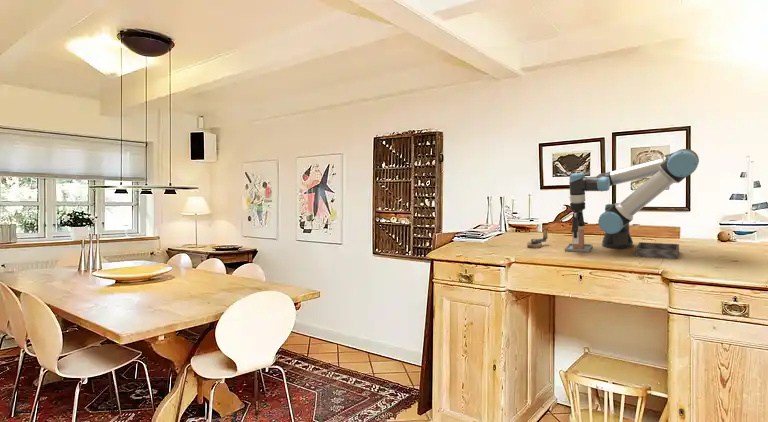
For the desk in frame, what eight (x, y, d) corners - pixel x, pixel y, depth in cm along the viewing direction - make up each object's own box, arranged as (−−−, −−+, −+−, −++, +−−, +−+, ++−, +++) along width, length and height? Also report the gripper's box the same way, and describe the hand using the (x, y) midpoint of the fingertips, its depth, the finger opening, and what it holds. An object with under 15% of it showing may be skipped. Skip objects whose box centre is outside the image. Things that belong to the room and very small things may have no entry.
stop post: (584, 247, 262) (584, 229, 261) (582, 249, 258) (582, 231, 256) (574, 246, 265) (574, 229, 263) (572, 249, 261) (572, 231, 259)
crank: (533, 243, 273) (532, 230, 271) (529, 242, 276) (529, 229, 275) (549, 241, 275) (549, 228, 273) (546, 240, 278) (545, 227, 277)
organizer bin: (679, 252, 240) (679, 244, 240) (677, 259, 229) (677, 250, 229) (639, 249, 250) (639, 242, 250) (635, 256, 239) (635, 248, 239)
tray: (592, 247, 263) (592, 244, 263) (588, 252, 253) (588, 249, 253) (569, 246, 270) (569, 243, 270) (564, 251, 260) (564, 248, 260)
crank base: (525, 247, 274) (525, 244, 274) (529, 244, 280) (529, 241, 280) (539, 248, 270) (539, 245, 269) (543, 245, 276) (543, 241, 276)
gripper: (574, 198, 270) (575, 235, 273) (565, 206, 249) (566, 245, 253) (589, 198, 266) (590, 235, 269) (580, 206, 245) (581, 246, 248)
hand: (578, 240), depth 261 cm, fingers open, 13 cm apart
